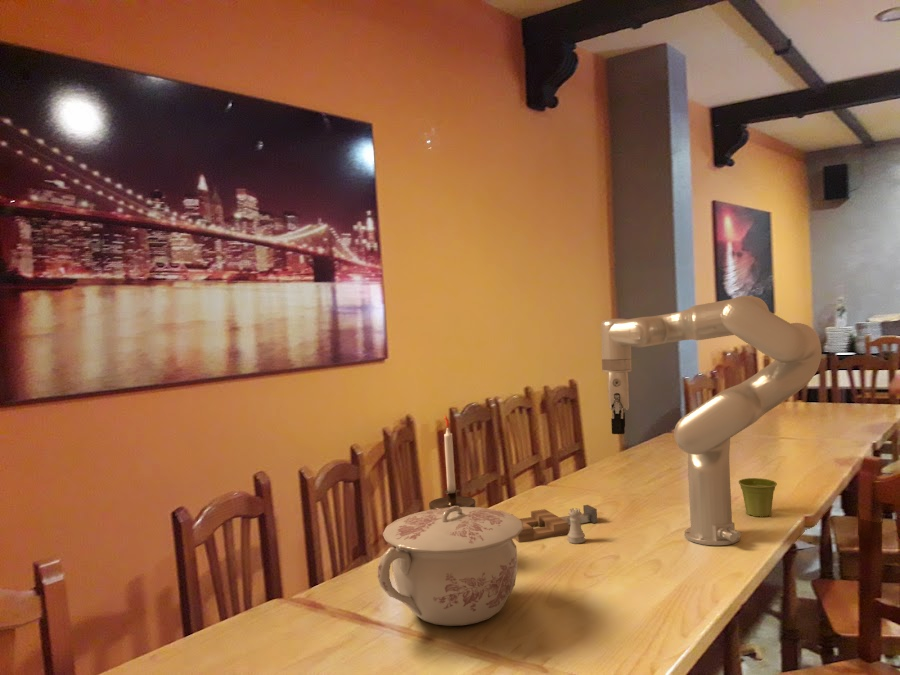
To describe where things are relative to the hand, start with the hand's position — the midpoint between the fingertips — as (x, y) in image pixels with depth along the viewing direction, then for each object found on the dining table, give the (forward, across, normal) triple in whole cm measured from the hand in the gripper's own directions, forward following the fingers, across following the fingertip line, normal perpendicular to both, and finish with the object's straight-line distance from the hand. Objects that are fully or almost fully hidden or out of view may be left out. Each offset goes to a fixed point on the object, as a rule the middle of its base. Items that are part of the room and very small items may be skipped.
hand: (618, 430), depth 181 cm
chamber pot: (+26, -58, +30) cm, 70 cm away
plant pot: (+25, +12, -36) cm, 45 cm away
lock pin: (+26, 0, +13) cm, 29 cm away
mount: (+26, -6, +23) cm, 35 cm away
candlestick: (+26, -32, +37) cm, 55 cm away
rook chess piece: (+26, -14, +11) cm, 31 cm away
